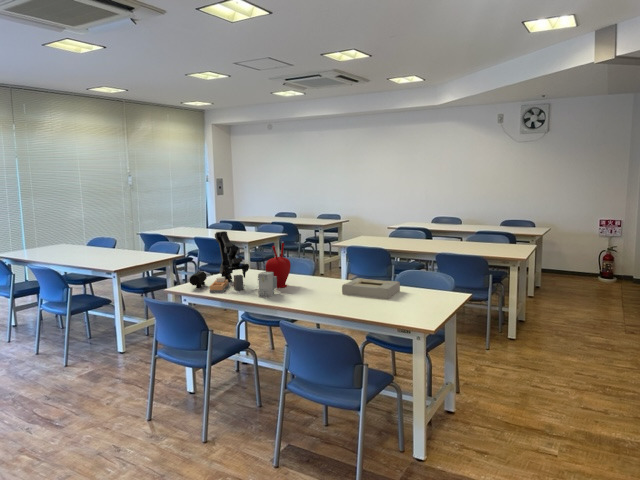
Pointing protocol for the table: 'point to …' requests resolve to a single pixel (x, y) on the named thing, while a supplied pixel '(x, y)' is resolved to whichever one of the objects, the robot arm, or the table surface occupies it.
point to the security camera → (198, 279)
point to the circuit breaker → (267, 284)
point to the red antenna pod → (279, 268)
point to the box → (371, 288)
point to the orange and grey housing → (219, 285)
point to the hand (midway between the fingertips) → (238, 278)
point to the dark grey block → (238, 282)
